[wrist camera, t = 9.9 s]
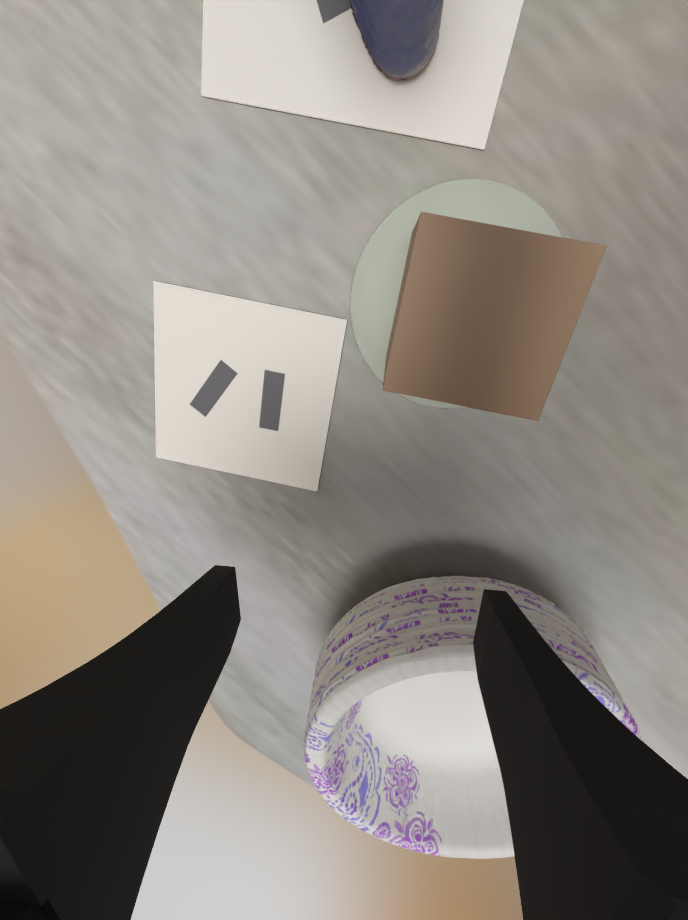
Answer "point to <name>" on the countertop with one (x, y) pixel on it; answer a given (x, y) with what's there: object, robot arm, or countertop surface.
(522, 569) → the countertop surface
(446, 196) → the plate
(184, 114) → the countertop surface
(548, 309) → the walnut block
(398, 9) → the flask
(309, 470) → the code tile
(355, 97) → the code tile
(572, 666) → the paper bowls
